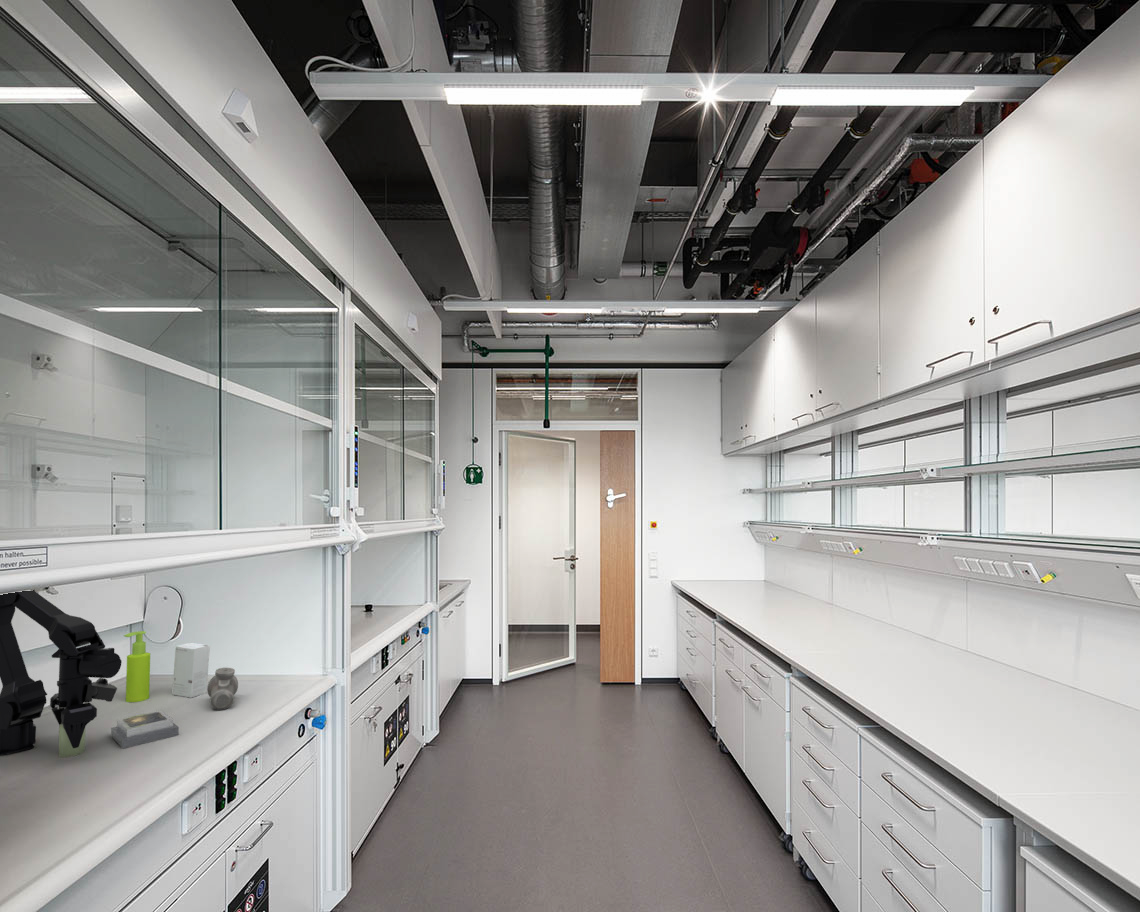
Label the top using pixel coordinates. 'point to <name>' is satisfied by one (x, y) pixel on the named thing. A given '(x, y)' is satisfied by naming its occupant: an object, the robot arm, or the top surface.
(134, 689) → the soap dispenser
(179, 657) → the skincare box
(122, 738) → the grey square holder
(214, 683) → the pipe fitting
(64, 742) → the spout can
